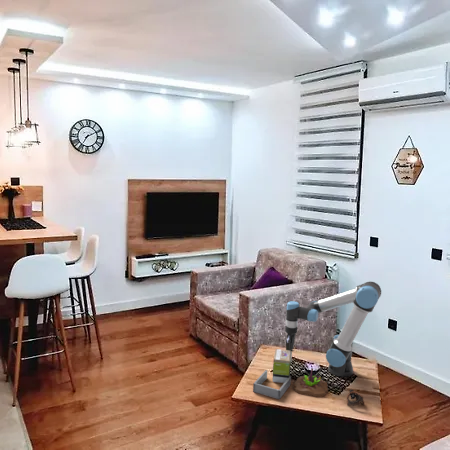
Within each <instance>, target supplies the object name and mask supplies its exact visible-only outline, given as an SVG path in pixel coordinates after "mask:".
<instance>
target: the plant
mask: <svg viewBox="0 0 450 450" xmlns="http://www.w3.org/2000/svg"><path fill="white" fill-rule="evenodd" d="M313 371H314V368H311V369H310V375H305V374H304V375H300V376H299V377H297V378H296V380H295V382H293V384H292V385H293V390H294V392H295V393H298V394H300V395H306V396H310V397H315V398H322V397H325V396H326V394H328V391H329V388H328V382H327V381H325V380H323V379H322V377H321V376H320V375H313Z"/></svg>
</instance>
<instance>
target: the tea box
mask: <svg viewBox="0 0 450 450" xmlns="http://www.w3.org/2000/svg"><path fill="white" fill-rule="evenodd" d="M291 363H292V360H291V350H286V349H277V348H275V349H274V355H273V363H272V364H273V365H272V382H273V383H279V384H280V383H282V384H284V383H285V381H286V380H287V379H288V378H289V376H290V377H291V375H290V374H291Z"/></svg>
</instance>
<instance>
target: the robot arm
mask: <svg viewBox="0 0 450 450" xmlns="http://www.w3.org/2000/svg"><path fill="white" fill-rule="evenodd" d="M381 296H382V289H381V286H380V285H379V284H378V283H377V282H375V281H367V282H364V283H362V284H359V285H357V286H356V287H355V288H352V289H349V290H346V291H343V292H341V293H337V294H334V295H331V296H328V297H325V298H323V299H319V300H313V301H311V302H310V303H309V304H308V305H307V306H306V307H305V306H304V307H303V306H300V303H299V302H298V301H294V300H293V301H288V302H287V303H286V310H285V311H286V312H285V320H284V322H285V326H284V327H285V328H284V331H285V333H287V334H286V339H285V350H291V361H292V358H293V352H294V351H295V350H294V347H295V340H296V334H297V333H298V327H299V326H298V325H299V320H303V321H307V322H311V323H315V322H317V321H318V318H319V314H322V313H324V312H326V311H331V310H333V309H334V310H335V309H337V308H339V307H343V306H346V305H349V304H352V303H353V307H352V309H351V311H350V313H349V315H348V317H347V319H346V321H345V323H344V325H343V327H342V329H341V331H340V332H339V334H336V335H334V336H333V341H332V343H331V345H330V347H329V348H328V350H327V351H326V354H325V360H326V361H327V362H328V367H327V368H328V372H329V373H331V374H332V375H334V376H337V377H342V378H343V377H345V378H348V377H350V376H352V375H354V374H353V373H354V366H353V363H352V355H353V344H354V343H353V342H354V341H355V338H356V337H357V335H358V333H359V332H360V329H361V327H362V326H363V323H364V321H365V320H366V317H367V316H368V314H369V313H372V312H373V310H374V308H375V307H376V305H377V303H378V301H379V299H380V298H381Z"/></svg>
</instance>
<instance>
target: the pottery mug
mask: <svg viewBox="0 0 450 450" xmlns="http://www.w3.org/2000/svg"><path fill="white" fill-rule="evenodd" d="M349 397H350V399H351V400H350V399H349ZM354 399H355V400H354ZM353 400H354V401H353ZM361 403H362V405H363V406H365V401H364V397H363V395H362V394H361V393H359V392H358V391H355V390H353V389H352V388H351V389H349V393H348V394H347V395H346V405H347V406H352V407H355V406H361Z"/></svg>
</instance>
